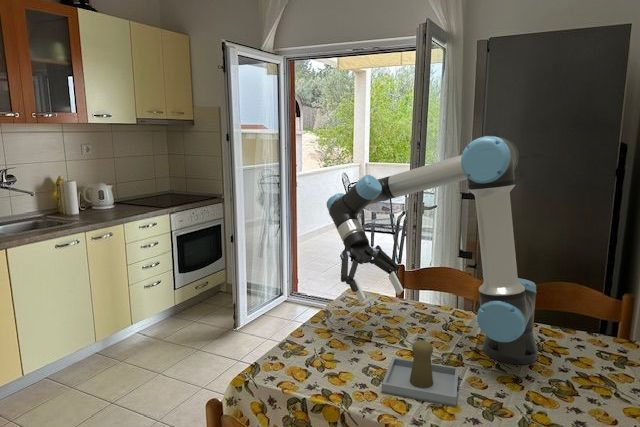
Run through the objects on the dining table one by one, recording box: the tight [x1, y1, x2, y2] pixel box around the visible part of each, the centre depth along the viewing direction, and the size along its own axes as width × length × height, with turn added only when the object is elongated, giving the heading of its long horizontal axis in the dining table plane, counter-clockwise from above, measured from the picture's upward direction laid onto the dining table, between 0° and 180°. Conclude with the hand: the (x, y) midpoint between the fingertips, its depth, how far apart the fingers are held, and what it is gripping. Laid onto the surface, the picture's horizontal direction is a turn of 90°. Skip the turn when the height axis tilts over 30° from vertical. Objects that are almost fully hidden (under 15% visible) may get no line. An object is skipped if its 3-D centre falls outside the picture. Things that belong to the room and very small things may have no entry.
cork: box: [410, 339, 434, 388], centre depth 114 cm, size 6×6×11 cm
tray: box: [381, 356, 460, 408], centre depth 115 cm, size 18×15×2 cm
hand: (382, 296), depth 127 cm, fingers open, 13 cm apart
